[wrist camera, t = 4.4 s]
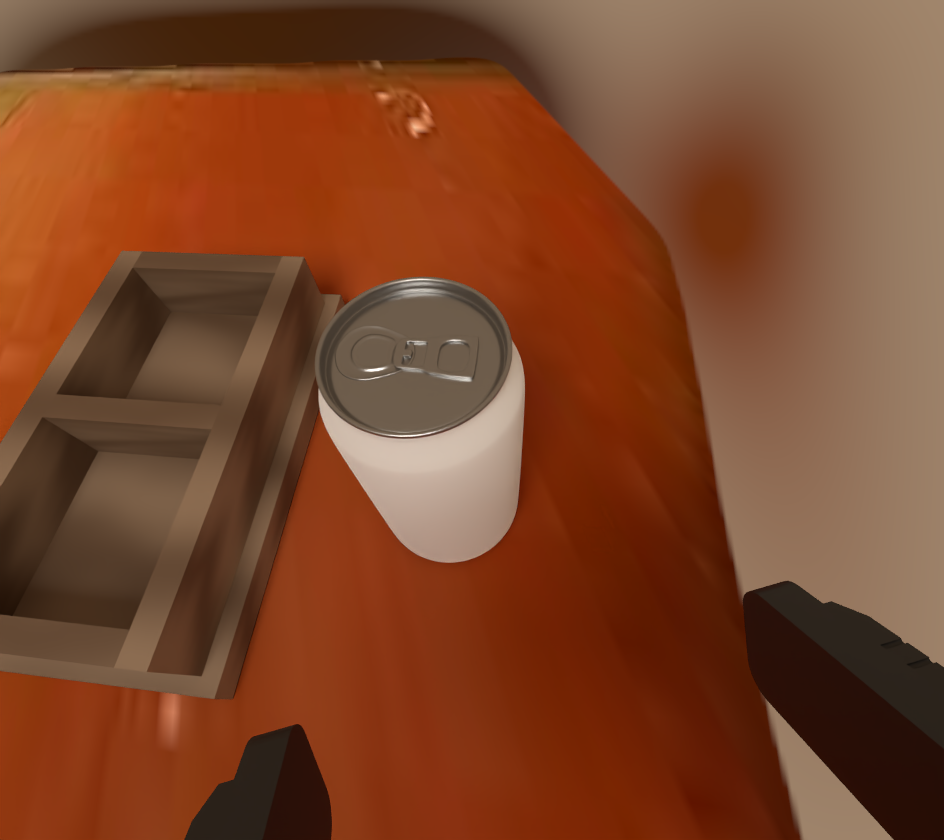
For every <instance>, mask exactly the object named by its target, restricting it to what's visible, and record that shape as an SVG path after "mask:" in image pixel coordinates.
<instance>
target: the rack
mask: <svg viewBox="0 0 944 840" xmlns="http://www.w3.org/2000/svg"><path fill="white" fill-rule="evenodd" d="M343 306H345V304H344V301H343V299H342V296H341V295H334V294H320V291H319V289H318V287H317V285H316V283H315V280H314V278H313V276H312V274H311V271H310V269H309V267H308V265H307V263H306V260H305V258H304V257H288V256H259V255H229V254H199V253H170V252H140V251H121V253H120V255H119V256H118V258H117V259H116V261H115V263H114V264H113V266H112V267H111V269H110V270H109V272H108V274H107V275H106V277H105V278H104V280H103V282H102V283H101V285H100V286H99V288H98V290H97V291H96V293H95V294H94V296H93V297H92V299H91V301H90V302H89V304H88V305H87V307H86V309H85V310H84V312H83V313H82V315H81V316H80V318H79V320H78V321H77V323H76V324H75V326H74V328H73V329H72V331H71V332H70V334H69V335H68V337H67V339H66V340H65V342H64V343H63V345H62V347H61V348H60V350H59V351H58V353H57V354H56V356H55V358H54V359H53V361H52V362H51V364H50V366H49V367H48V369H47V370H46V372H45V374H44V375H43V377H42V378H41V380H40V381H39V383H38V385H37V386H36V388H35V389H34V391H33V393H32V394H31V396H30V397H29V399H28V400H27V402H26V404H25V405H24V407H23V408H22V410H21V412H20V413H19V415H18V416H17V418H16V419H15V421H14V423H13V424H12V426H11V427H10V429H9V431H8V432H7V434H6V435H5V437H4V438H3V440H2V442H1V443H0V671H6V672H13V673H21V674H28V675H36V676H44V677H51V678H59V679H66V680H74V681H82V682H89V683H97V684H104V685H112V686H120V687H127V688H135V689H142V690H150V691H158V692H165V693H173V694H180V695H188V696H196V697H203V698H211V699H233V696H234V693H235V689H236V686H237V683H238V679H239V676H240V673H241V669H242V666H243V662H244V659H245V656H246V652H247V649H248V646H249V642H250V639H251V636H252V632H253V629H254V626H255V622H256V619H257V615H258V612H259V609H260V605H261V602H262V599H263V595H264V592H265V589H266V585H267V582H268V578H269V575H270V572H271V568H272V565H273V562H274V558H275V555H276V552H277V548H278V545H279V541H280V538H281V535H282V531H283V528H284V525H285V521H286V518H287V515H288V511H289V508H290V505H291V501H292V498H293V494H294V491H295V488H296V484H297V481H298V478H299V474H300V471H301V468H302V464H303V461H304V457H305V454H306V451H307V447H308V444H309V441H310V437H311V434H312V431H313V427H314V424H315V420H316V417H317V414H318V410H319V388H318V385H317V381H316V376H315V355H316V350H317V346H318V343H319V340H320V338H321V336H322V333H323V332H324V330H325V328H326V326H327V325H328V323H329V322H330V321H331V319H332V318H333V317H334V316H335V315H336V313H337V312H338V311H339V310H340V309H341V308H342V307H343Z"/></svg>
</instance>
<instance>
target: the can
mask: <svg viewBox="0 0 944 840" xmlns="http://www.w3.org/2000/svg"><path fill="white" fill-rule="evenodd" d="M315 376H316V381H317V385H318V388H319V407H320V412H321V416H322V419H323V422H324V424H325V427H326V429H327V431H328V433H329V435H330V437H331V439H332V440H333V442H334V444H335V445H336V447H337V449H338V450H339V452H340V453H341V455H342V456H343V458H344V460H345V461H346V463H347V464H348V466H349V467H350V469H351V470H352V472H353V473H354V475H355V476H356V478H357V479H358V481H359V482H360V484H361V485H362V487H363V488H364V490H365V491H366V493H367V494H368V496H369V497H370V499H371V500H372V502H373V503H374V505H375V506H376V508H377V509H378V511H379V512H380V514H381V515H382V517H383V518H384V520H385V521H386V523H387V524H388V526H389V527H390V529H391V530H392V531H393V533H394V534H395V535H396V537H397V538H398V539H399V540H400V542H401V543H402V544H403V545H405V546H406V547H407V548H408V549H409V550H411V551H412V552H414V553H415V554H417V555H419V556H421V557H423V558H426V559H429V560H432V561H437V562H447V563H452V562H461V561H466V560H469V559H472V558H475V557H477V556H480V555H482V554H483V553H485V552H487V551H488V550H490V549H491V548H492V547H494V546H495V545H496V544H497V543H498V542H499V541H500V540H501V539H502V538H503V537H504V535H505V534H506V533H507V531H508V529H509V528H510V526H511V524H512V522H513V519H514V517H515V513H516V510H517V504H518V496H519V484H520V470H521V455H522V439H523V422H524V403H525V378H524V370H523V365H522V361H521V358H520V355H519V352H518V350H517V348H516V346H515V344H514V343H513V341H512V339H511V334H510V331H509V328H508V325H507V323H506V321H505V319H504V317H503V315H502V314H501V312H500V311H499V310H498V308H497V307H496V306H495V305H494V304H493V303H492V302H491V301H490V300H489V299H488V298H487V297H485V296H484V295H483V294H481V293H480V292H478V291H476V290H475V289H473V288H471V287H469V286H467V285H464V284H462V283H459V282H455V281H452V280H448V279H443V278H435V277H411V278H404V279H398V280H394V281H390V282H387V283H383V284H381V285H378V286H376V287H373V288H371V289H369V290H367V291H365V292H363V293H361V294H360V295H358V296H357V297H355V298H354V299H352V300H351V301H350V302H348V303H347V304H346V305H345V306H343V307H342V308H341V309H340V310H339V311H338V312H337V313H336V315H335V316H334V317H333V318H332V319H331V321H330V322H329V323H328V325H327V326H326V328H325V330H324V332H323V333H322V336H321V338H320V340H319V343H318V346H317V350H316V355H315Z"/></svg>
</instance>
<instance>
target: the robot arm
mask: <svg viewBox="0 0 944 840" xmlns="http://www.w3.org/2000/svg"><path fill="white" fill-rule="evenodd" d="M743 608H744V619H745V631H746V642H747V653H748V662H749V667H750V670H751V673H752V676H753V678H754V680H755V682H756V684H757V686H758V688H759V689H760V691H761V693H762V694H763V695H764V697H765V698H766V699H767V701H768V702H769V703H770V704H771V705H772V706H773V707H774V708H775V709H776V711H777V712H778V713H779V714H780V715H781V716H782V717H783V718H784V719H785V720H786V721H787V723H788V724H789V725H790V726H791V727H792V728H793V729H794V730H795V731H796V733H797V734H798V735H799V736H800V737H801V738H802V739H803V740H804V741H805V742H806V743H807V745H808V746H809V747H810V748H811V749H812V750H813V751H814V752H815V753H816V755H817V756H818V757H819V758H820V759H821V760H822V761H823V762H824V763H825V764H826V766H827V767H828V768H829V769H830V770H831V771H832V772H833V773H834V774H835V775H836V777H837V778H838V779H839V780H840V781H841V782H842V783H843V784H844V785H845V786H846V788H847V789H848V790H849V791H850V792H851V793H852V794H853V795H854V796H855V798H856V799H857V800H858V801H859V802H860V803H861V804H862V805H863V806H864V807H865V809H866V810H867V811H868V812H869V813H870V814H871V815H872V816H873V817H874V818H875V819H876V821H878V823H879V824H880V825H881V826H882V827H883V828H884V829H885V831H886V832H887V833H888V834H889V835H890V836H891V837H892V838H893V839H894V840H944V667H942V666H941V665H940V664H938V663H937V662H936V663H932V662H931V661H930V659H929V657H928V656H926V655H925V654H923V653H922V652H920V651H919V650H918V649H916V648H914V647H913V646H912V645H910V644H909V643H906V644H905V643H903V642H902V640H901V638H900V637H898V636H897V635H895V634H894V633H893V632H891V631H890V630H888V629H887V628H885V627H884V626H882V625H881V624H879V623H878V622H876V621H875V620H873V619H872V618H871V617H869V616H867V615H864V614H862V613H859V612H856V611H854V610H852V609H849V608H847V607H844V606H842V605H839V604H837V603H834V602H828V603H824V604H823V603H821V602H820V601H819V600H817V599H816V598H814V597H813V596H812V595H810V594H809V593H808V592H806V591H805V590H803V589H802V588H801V587H799V586H798V585H796V584H795V583H793V582H790V581H784V582H780V583H777V584H773V585H770V586H766V587H763V588H759V589H756V590H753V591H749V592H747V593H746V594H745V595H744V598H743ZM331 831H332V817H331V806H330V800H329V795H328V791H327V788H326V786H325V783H324V781H323V778H322V775H321V773H320V770H319V768H318V765H317V762H316V760H315V757H314V755H313V752H312V750H311V747H310V744H309V742H308V739H307V737H306V734H305V732H304V730H303V728H302V727H301V726H300V725H299V724H295V725H292V726H289V727H285V728H282V729H278V730H275V731H271V732H268V733H264V734H261V735H257V736H254V737H252V738H251V739H250V740H249V741H248V743H247V745H246V747H245V750H244V753H243V756H242V758H241V761H240V764H239V767H238V770H237V773H236V775H235V778H234V780H231V781H228V782H224V783H221V784H218V786H217V787H216V789H215V790H214V791H213V793H212V794H211V796H210V797H209V798H208V800H207V801H206V803H205V804H204V805H203V807H202V808H201V810H200V811H199V812H198V814H197V815H196V817H195V818H194V819H193V821H192V823H191V825H190V828H189V830H188V833H187V835H186V838H185V840H331Z"/></svg>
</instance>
